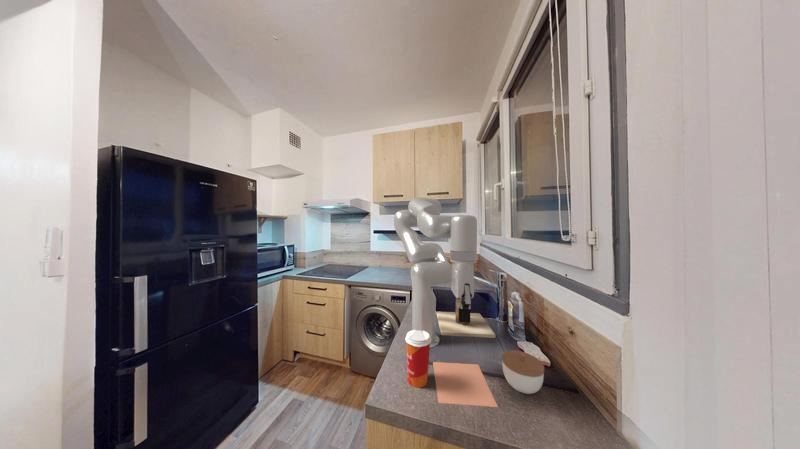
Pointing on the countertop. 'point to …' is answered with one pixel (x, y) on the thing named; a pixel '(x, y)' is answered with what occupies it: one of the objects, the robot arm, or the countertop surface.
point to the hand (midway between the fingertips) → (462, 317)
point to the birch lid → (463, 324)
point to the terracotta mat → (462, 385)
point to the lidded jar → (523, 371)
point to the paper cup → (417, 357)
